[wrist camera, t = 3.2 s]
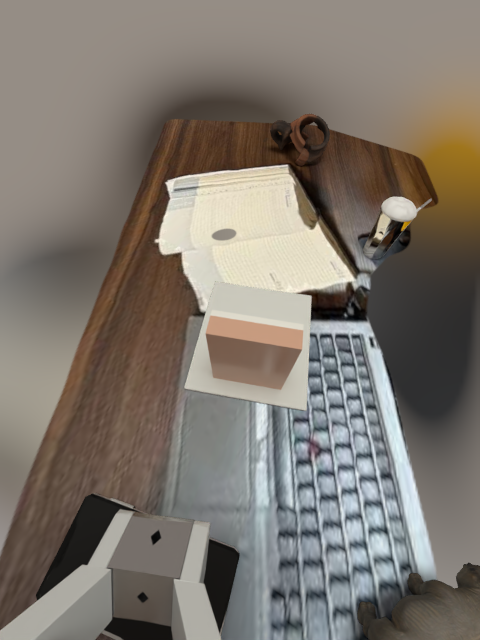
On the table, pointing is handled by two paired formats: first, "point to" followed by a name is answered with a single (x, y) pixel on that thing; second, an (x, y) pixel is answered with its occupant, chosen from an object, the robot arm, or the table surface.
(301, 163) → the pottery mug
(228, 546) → the smartphone
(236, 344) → the tile
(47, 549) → the table surface
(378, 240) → the milkshake
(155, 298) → the table surface
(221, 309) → the mat
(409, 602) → the brown elongated animal figure
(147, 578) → the robot arm
